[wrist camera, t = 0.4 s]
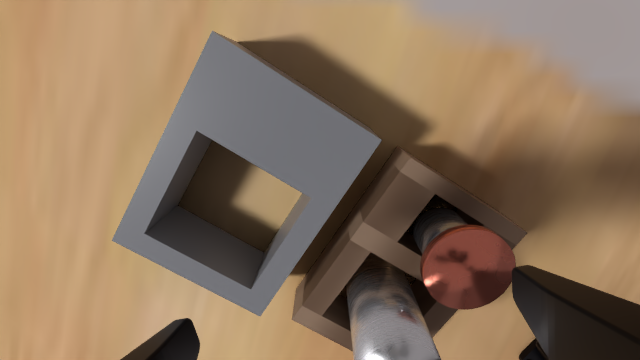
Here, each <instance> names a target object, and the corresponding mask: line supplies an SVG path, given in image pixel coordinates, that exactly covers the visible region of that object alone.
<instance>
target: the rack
mask: <svg viewBox="0 0 640 360" xmlns="http://www.w3.org/2000/svg"><path fill="white" fill-rule="evenodd" d="M212 140H213V141H215V142H217V143H218V144H220V145H222V146H224V147H225V148H227V149H229V150H230V151H232V152H234V153H235V154H237V155H239V156H241V157H242V158H244V159H246V160H247V161H249V162H251V163H252V164H254V165H256V166H258V167H259V168H261V169H263V170H264V171H266V172H268V173H269V174H271V175H273V176H274V177H276V178H278V179H280V180H281V181H283V182H285V183H286V184H288V185H290V186H291V187H293V188H295V189H297V190H298V191H300V192H302V195H301V196H300V198H299V200H298V201H297V203H296V204H295V206H294V207H293V209H292V210H291V212H290V213H289V215H288V216H287V218H286V220H285V221H284V223H283V224H282V226H281V227H280V229H279V230H278V232H277V233H276V235H275V237H274V238H273V240H272V241H271V243H270V244H269V246H268V247H267V249H266V250H265V252H264V253H263V252H262V251H260V250H258V249H256V248H254V247H252V246H251V245H249V244H247V243H245V242H243V241H242V240H240V239H238V238H236V237H234V236H232V235H231V234H229V233H227V232H225V231H223V230H221V229H220V228H218V227H216V226H214V225H212V224H210V223H209V222H207V221H205V220H203V219H201V218H199V217H198V216H196V215H194V214H192V213H190V212H188V211H187V210H185V209H183V208H181V207H179V206H178V204H179V202H180V200H181V198H182V196H183V194H184V192H185V190H186V188H187V187H188V185H189V183H190V181H191V179H192V177H193V175H194V173H195V171H196V170H197V168H198V166H199V164H200V162H201V160H202V158H203V156H204V154H205V153H206V151H207V149H208V147H209V145H210V143H211V141H212ZM381 141H382V140H381V139H380V138H379V137H378V136H377V135H376V134H375V133H374V132H373V131H372V130H371V129H370V128H369V127H367V126H366V125H364V124H363V123H361V122H360V121H358V120H357V119H355V118H353V117H352V116H350V115H349V114H347V113H346V112H344V111H343V110H341V109H340V108H338V107H336V106H335V105H333V104H332V103H330V102H329V101H327V100H326V99H324V98H323V97H321V96H319V95H318V94H316V93H315V92H313V91H312V90H310V89H309V88H307V87H306V86H304V85H302V84H301V83H299V82H298V81H296V80H295V79H293V78H292V77H290V76H289V75H287V74H285V73H284V72H282V71H281V70H279V69H278V68H276V67H275V66H273V65H272V64H270V63H268V62H267V61H265V60H264V59H262V58H261V57H259V56H258V55H256V54H255V53H253V52H251V51H250V50H248V49H247V48H245V47H244V46H242V45H241V44H239V43H238V42H236V41H234V40H231V39H229V38H227V37H225V36H223V35H220V34H218V33H216V32H214V31H212V32H211V34H210V36H209V39H208V41H207V43H206V45H205V47H204V49H203V51H202V53H201V55H200V57H199V59H198V62H197V64H196V66H195V68H194V70H193V72H192V74H191V76H190V78H189V80H188V82H187V85H186V87H185V89H184V91H183V93H182V95H181V97H180V99H179V101H178V103H177V105H176V108H175V110H174V112H173V114H172V116H171V118H170V120H169V122H168V124H167V126H166V128H165V130H164V133H163V135H162V137H161V139H160V141H159V143H158V145H157V147H156V149H155V151H154V153H153V156H152V158H151V160H150V162H149V164H148V166H147V168H146V170H145V172H144V174H143V176H142V179H141V181H140V183H139V185H138V187H137V189H136V191H135V193H134V195H133V197H132V199H131V202H130V204H129V206H128V208H127V210H126V212H125V214H124V216H123V218H122V220H121V222H120V225H119V227H118V229H117V231H116V233H115V235H114V237H113V239H112V241H114V242H116V243H118V244H120V245H122V246H124V247H125V248H127V249H129V250H131V251H133V252H135V253H137V254H139V255H141V256H143V257H145V258H147V259H149V260H151V261H153V262H155V263H157V264H159V265H161V266H163V267H165V268H166V269H168V270H170V271H172V272H174V273H176V274H178V275H180V276H182V277H184V278H186V279H188V280H190V281H192V282H194V283H196V284H198V285H200V286H202V287H204V288H206V289H207V290H209V291H211V292H213V293H215V294H217V295H219V296H221V297H223V298H225V299H227V300H229V301H231V302H233V303H235V304H237V305H239V306H241V307H243V308H245V309H247V310H248V311H250V312H252V313H254V314H256V315H258V316H261V315H262V313H263V312H264V310H265V309H266V307H267V306H268V304H269V303H270V302H271V300H272V299H273V297H274V296H275V294H276V293H277V291H278V290H279V289H280V287H281V286H282V284H283V283H284V281H285V280H286V278H287V277H288V275H289V274H290V273H291V271H292V270H293V268H294V267H295V265H296V264H297V262H298V261H299V260H300V258H301V257H302V255H303V254H304V252H305V251H306V249H307V248H308V246H309V245H310V244H311V242H312V241H313V239H314V238H315V236H316V235H317V233H318V232H319V231H320V229H321V228H322V226H323V225H324V223H325V222H326V220H327V219H328V218H329V216H330V215H331V213H332V212H333V210H334V209H335V207H336V206H337V204H338V203H339V202H340V200H341V199H342V197H343V196H344V194H345V193H346V191H347V190H348V189H349V187H350V186H351V184H352V183H353V181H354V180H355V178H356V177H357V175H358V174H359V173H360V171H361V170H362V168H363V167H364V165H365V164H366V162H367V161H368V160H369V158H370V157H371V155H372V154H373V152H374V151H375V149H376V148H377V146H378V145H379V144H380V142H381Z"/></svg>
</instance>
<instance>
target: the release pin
mask: <svg viewBox="0 0 640 360" xmlns="http://www.w3.org/2000/svg"><path fill="white" fill-rule="evenodd" d="M413 236H414V240H415V242H416V243H417V245H418V247H419V249H420V251H421V252H422V254H423V255H422V257H421V262H420V273H421V277H422V280H423V282H424V284H425V286H426V288H427V290H428V292H429V293H430V295H431V296H432V297H433V298H434V299H435V300H436V301H438V302H439V303H441V304H443V305H445V306H447V307H450V308H454V309H474V308H478V307H481V306H484V305H486V304H489V303H491V302H492V301H494V300H495V299H497V298H498V297H499V296H501V295H502V294H503V293H504V292H505V290H506V289H507V288H508V286H509V285H510V283H511V281H512V274H511V273H512V269H513V268H514V267H515V257H514V254H513V252H512V250H511V248H510V246H509V245H508V244H507V243H506V242H505V241H504V240H503V239H502V238H501V237H500V236H499V235H497V234H496V233H495V232H493V231H492V230H490V229H488V228H485V227H483V226H478V225H468V224H467V223H466V222H465V221H464V220H463V219H462V218H461V217H460V216H459V215H458V214H457V213H456V212H454V211H453V210H451V209H448V208H442V207H440V208H433V209H430V210H428V211H426V212H424V213H423V214H422V215H421V216H420V217H419V218H418V219H417V221H416V222H415V225H414V228H413Z"/></svg>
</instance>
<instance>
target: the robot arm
mask: <svg viewBox="0 0 640 360" xmlns="http://www.w3.org/2000/svg"><path fill="white" fill-rule="evenodd" d="M511 274H512V292H513V298H514V301H515V303H516V305H517V307H518V308H519V310H520V312H521V313H522V315H523V317H524V319H525V320H526V322H527V324H528V325H529V327H530V329H531V330H532V332H533V334H534V335H535V337H536V340H535V341H534V342H533V343H532V344H530V345H529V346H528V347H527V348H526V349H525V350H524V351H523V352H522V353H521V354H520V356H519V360H640V305H639V304H636V303H633V302H630V301H627V300H625V299H622V298H619V297H616V296H614V295H611V294H608V293H605V292H603V291H600V290H597V289H594V288H591V287H589V286H586V285H583V284H580V283H578V282H575V281H572V280H569V279H566V278H564V277H561V276H558V275H555V274H553V273H550V272H547V271H544V270H542V269H539V268H536V267H533V266H530V265H525V266H519V267H514V268H513V269H512V273H511ZM199 349H200V342H199V338H198V336H197V333H196V330H195V328H194V325H193V322H192V321H191V319H189V318H185V319H179V320H175V321H173V322H172V323H170V324H169V325H168V326H166V327H165V328H164V329H162V330H161V331H159V332H158V333H157V334H155V335H154V336H152V337H151V338H150V339H148V340H147V341H146V342H144V343H143V344H141V345H140V346H139V347H137V348H136V349H134V350H133V351H132V352H130V353H129V354H128V355H126V356H125V357H123V358H122V359H121V360H197V357H198V353H199Z"/></svg>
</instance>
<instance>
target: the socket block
mask: <svg viewBox="0 0 640 360" xmlns="http://www.w3.org/2000/svg"><path fill="white" fill-rule="evenodd" d="M434 194H436V195H438V196H439V197H441V198H443V199H444V200H446V201H447V202H449V203H450V204H452V205H454V206H455V207H457V208H458V210H457V211H456V213H457V214H458V215H459V216H460V217H461V218H462V219H463V220H464V221H465V222H466V223H467V224H468V225H478V226H483V227H485V228H488V229H490V230H492V231H493V232H495V233H496V234H497V235H499V236H500V237H501V238H502V239H503V240H504V241H505V242H506V243H507V244H508V245H509V246H510V248H511V250H512V249H513V248H514V247H515V246H516V245H517V244H518V243H519V242H520V241H521V239H522V238H523V237H524V236H525V235H526V234H527V232H526V231H524V230H523V229H522V228H520V227H519V226H518V225H516V224H515V223H514V222H512V221H511V220H510V219H508V218H507V217H506V216H504V215H503V214H502V213H500V212H499V211H497V210H496V209H494V208H493V207H491V206H490V205H488V204H486V203H485V202H483V201H482V200H480V199H479V198H477V197H476V196H474V195H473V194H471V193H469V192H468V191H466V190H465V189H463V188H462V187H460V186H459V185H457V184H456V183H454V182H452V181H451V180H449V179H448V178H446V177H445V176H443V175H442V174H440V173H439V172H437V171H435V170H434V169H432V168H431V167H429V166H428V165H426V164H425V163H423V162H422V161H420V160H418V159H417V158H415V157H414V156H412V155H411V154H409V153H408V152H406V151H405V150H403V149H401V148H400V147H398V146H397V148H396V149H395V150H394V152H393V153H392V155H391V156H390V158H389V159H388V160H387V162H386V163H385V165H384V166H383V167H382V169H381V170H380V172H379V173H378V174H377V176H376V177H375V179H374V180H373V181H372V183H371V184H370V186H369V187H368V189H367V190H366V191H365V193H364V194H363V196H362V197H361V198H360V200H359V201H358V203H357V204H356V205H355V207H354V208H353V210H352V211H351V213H350V214H349V215H348V217H347V218H346V220H345V221H344V222H343V224H342V225H341V227H340V228H339V229H338V231H337V232H336V234H335V235H334V236H333V238H332V239H331V241H330V242H329V244H328V245H327V246H326V248H325V249H324V251H323V252H322V253H321V255H320V256H319V258H318V259H317V260H316V262H315V263H314V265H313V266H312V268H311V269H310V270H309V272H308V273H307V275H306V276H305V277H304V279H303V280H302V282H301V283H300V284H299V286H298V287H297V289H296V294H295V301H294V309H293V316H292V320H294V321H296V322H297V323H299V324H301V325H303V326H305V327H307V328H309V329H311V330H313V331H315V332H317V333H319V334H321V335H322V336H324V337H326V338H328V339H330V340H332V341H334V342H336V343H338V344H340V345H342V346H344V347H346V348H348V349H349V350H351V351H353V346H352V337H351V328H350V318H349V309H348V300H347V299H345V298H343V297H341V296H340V295H338V294H339V293H340V292H341V290H342V289H343V288H344V286H345V285H346V284H347V282H348V281H349V280H350V279H351V277H352V276H353V275H354V273H355V272H356V271H357V269H358V268H359V267H360V265H361V264H362V263H363V261H364V260H365V259H366V257H367V256H368V255H369V254H370V252H372V253H373V254H375V255H377V256H379V257H380V258H382V259H384V260H385V261H387V262H389V263H391V264H392V265H394V266H396V267H398V268H399V269H401V270H403V271H404V272H406V273H408V274H410V275H411V276H413V277H415V278H417V279H416V281H415V282H414V283H413V284H412V285H411V289H412V292H413V294H414V296H415V299H416V301H417V303H418V306H419V308H420V311H421V313H422V315H423V318H424V320H425V323H426V325H427V327H428V330H429V332H430V334H431V337H433V336H434V335H435V334H436V333H437V332H438V331H439V330H440V329H441V327H442V326H443V325H444V324H445V323H446V322H447V321H448V320H449V319H450V318H451V316H452V315H453V314H454V313H455V312H456V311H457V310H458V309H454V308H450V307H447V306H445V305H443V304H441V303H439V302H438V301H436V300H435V299H434V298H433V297H432V296H431V295H430V293H429V292H428V290H427V288H426V286H425V284H424V282H423V280H422V277H421V273H420V262H421V257H422V255H423V254H422V252H421V251H420V249H419V247H418V245H417V243H416V242H415V240H414V236H413V235H411V234H410V233H408V232H406V230H407V229H408V228H409V226H410V225H411V224H412V223H413V221H414V220H415V219H416V218H417V216H418V215H419V214H420V212H421V211H422V210H423V209H424V207H425V206H426V205H427V203H428V202H429V201H430V200H431V198H432V197H433V196H434Z"/></svg>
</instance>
